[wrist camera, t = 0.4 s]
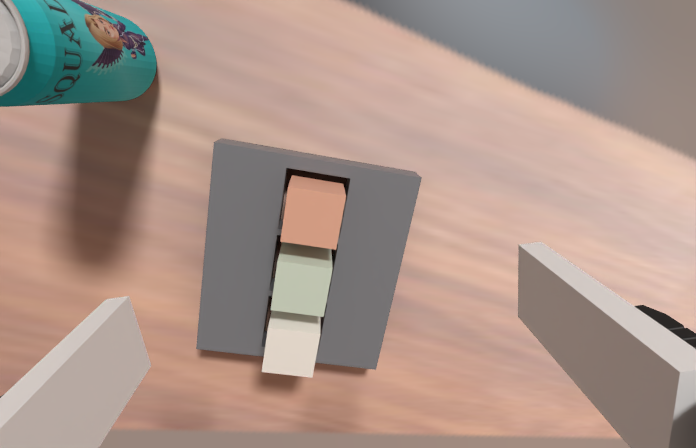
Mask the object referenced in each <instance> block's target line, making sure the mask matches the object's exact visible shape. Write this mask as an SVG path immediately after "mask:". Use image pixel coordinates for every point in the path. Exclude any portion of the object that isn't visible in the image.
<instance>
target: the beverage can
mask: <svg viewBox="0 0 696 448" xmlns="http://www.w3.org/2000/svg"><path fill="white" fill-rule="evenodd" d="M156 67H157V62H156V56H155V52H154V49H153V47H152V44H151V42H150V41H149V39H148V37H147V36H146V35H145V33H144V32H143V31H142V30H141V29H140V28H139V27H138V26H137V25H136V24H134V23H133V22H132V21H130V20H128V19H126V18H124V17H122V16H119V15H116V14H114V13H111V12H108V11H106V10H103V9H100V8H98V7H95V6H92V5H90V4H87V3H85V2H82V1H79V0H0V106H5V107H7V106H28V105H49V104H70V103H92V102H113V101H127V100H131V99H134V98H137V97H138V96H140V95H142V94H143V93H144V92H145V91H146V90H147V89H148V88H149V87H150V85H151V84H152V82H153V79H154V77H155V74H156Z"/></svg>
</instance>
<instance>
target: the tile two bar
mask: <svg viewBox="0 0 696 448" xmlns="http://www.w3.org/2000/svg"><path fill="white" fill-rule="evenodd" d="M332 269H333V267H332V252H331V249H328V248H321V247H314V246H307V245H301V244H294V243H287V242H282V245H281V249H280V253H279V257H278V261H277V268H276V275H275V282H274V289H273V296H272V303H271V310H273V311H281V312H289V313H297V314H304V315H312V316H320V317H324V312H325V307H326V302H327V300H328V291H329V285H330V283H331V279H332Z"/></svg>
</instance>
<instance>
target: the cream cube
mask: <svg viewBox="0 0 696 448" xmlns="http://www.w3.org/2000/svg"><path fill="white" fill-rule="evenodd" d="M319 339H320V316H312V315H304V314H297V313H289V312H281V311H273V310H272V312H271V316H270V321H269V325H268V331H267V338H266V345H265V352H264V359H263V366H262V372H266V373H275V374H284V375H293V376H302V377H311V378H312V377H313V371H314V366H315V361H316V355H317V354H318V349H319Z"/></svg>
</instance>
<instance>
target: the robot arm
mask: <svg viewBox="0 0 696 448" xmlns="http://www.w3.org/2000/svg"><path fill="white" fill-rule="evenodd" d="M518 317H519V318H520V319H521V321H522V322H523V323H524V324H525V325H526V326H527V328H528V329H529V330H530V331H531V332H532V333H533V335H534V336H535V337H536V338H537V339H538V340H539V342H540V343H541V344H542V345H543V346H544V347H545V349H546V350H547V351H548V352H549V353H550V354H551V356H552V357H553V358H554V359H555V360H556V361H557V363H558V364H559V365H560V366H561V367H562V368H563V370H564V371H565V372H566V373H567V374H568V375H569V377H570V378H571V379H572V380H573V381H574V382H575V384H576V385H577V386H578V387H579V388H580V389H581V391H582V392H583V393H584V394H585V395H586V396H587V398H588V399H589V400H590V401H591V402H592V403H593V405H594V406H595V407H596V408H597V409H598V410H599V412H600V413H601V414H602V415H603V416H604V417H605V419H606V420H607V421H608V422H609V423H610V424H611V426H612V427H613V428H614V429H615V430H616V431H617V433H618V434H619V435H620V436H621V437H622V438H623V440H624V441H625V442H626V443H627V444H628V445H629V446H630V447H631V448H696V333H694V332H693V331H691V330H690V329H688V328H684V326H683V325H682V324H680V323H679V322H677V321H676V320H674V319H673V318H671V317H670V316H668V315H666V314H664V313H662V312H659V311H657V310H654V309H652V308H649V307H646V306H644V305H640V306H633V305H632V304H630V303H629V302H627V301H626V300H624V299H623V298H622V297H620V296H619V295H617V294H616V293H614V292H613V291H611V290H610V289H609V288H607V287H606V286H604V285H603V284H601V283H600V282H598V281H597V280H596V279H594V278H593V277H591V276H590V275H588V274H587V273H585V272H584V271H583V270H581V269H580V268H578V267H577V266H575V265H574V264H572V263H571V262H570V261H568V260H567V259H565V258H564V257H562V256H561V255H559V254H558V253H557V252H555V251H554V250H552V249H551V248H549V247H548V246H546V245H545V244H544V243H542V242H536V243H528V244H521V245H519V261H518ZM150 367H151V363H150V360H149V357H148V354H147V351H146V348H145V345H144V341H143V338H142V335H141V332H140V329H139V326H138V323H137V319H136V316H135V313H134V310H133V307H132V304H131V301H130V297H129V296H127V297H119V298H112V299H106V300H105V301H104V302H103V303H102V304H101V305H99V306H98V307H97V308H96V309H95V310H94V311H93V312H92V313H91V314H90V315H89V316H88V317H87V318H86V319H84V320H83V321H82V322H81V323H80V324H79V325H78V326H77V327H76V328H75V329H74V330H73V331H72V332H71V333H69V334H68V335H67V336H66V337H65V338H64V339H63V340H62V341H61V342H60V343H59V344H58V345H57V346H56V347H55V348H53V349H52V350H51V351H50V352H49V353H48V354H47V355H46V356H45V357H44V358H43V359H42V360H41V361H40V362H38V363H37V364H36V365H35V366H34V367H33V368H32V369H31V370H30V371H29V372H28V373H27V374H26V375H25V376H23V377H22V378H21V379H20V380H19V381H18V382H17V383H16V384H15V385H14V386H13V387H12V388H11V389H10V390H9V391H7V392H6V393H5V394H4V395H2V396H1V397H0V448H99V446H100V445H101V443H102V441H103V440H104V438H105V437H106V435H107V434H108V432H109V431H110V429H111V427H112V426H113V424H114V423H115V421H116V420H117V418H118V417H119V415H120V413H121V412H122V410H123V409H124V407H125V406H126V404H127V403H128V401H129V399H130V398H131V396H132V395H133V393H134V392H135V390H136V389H137V387H138V386H139V384H140V382H141V381H142V379H143V378H144V376H145V375H146V373H147V372H148V370H149V368H150Z"/></svg>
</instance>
